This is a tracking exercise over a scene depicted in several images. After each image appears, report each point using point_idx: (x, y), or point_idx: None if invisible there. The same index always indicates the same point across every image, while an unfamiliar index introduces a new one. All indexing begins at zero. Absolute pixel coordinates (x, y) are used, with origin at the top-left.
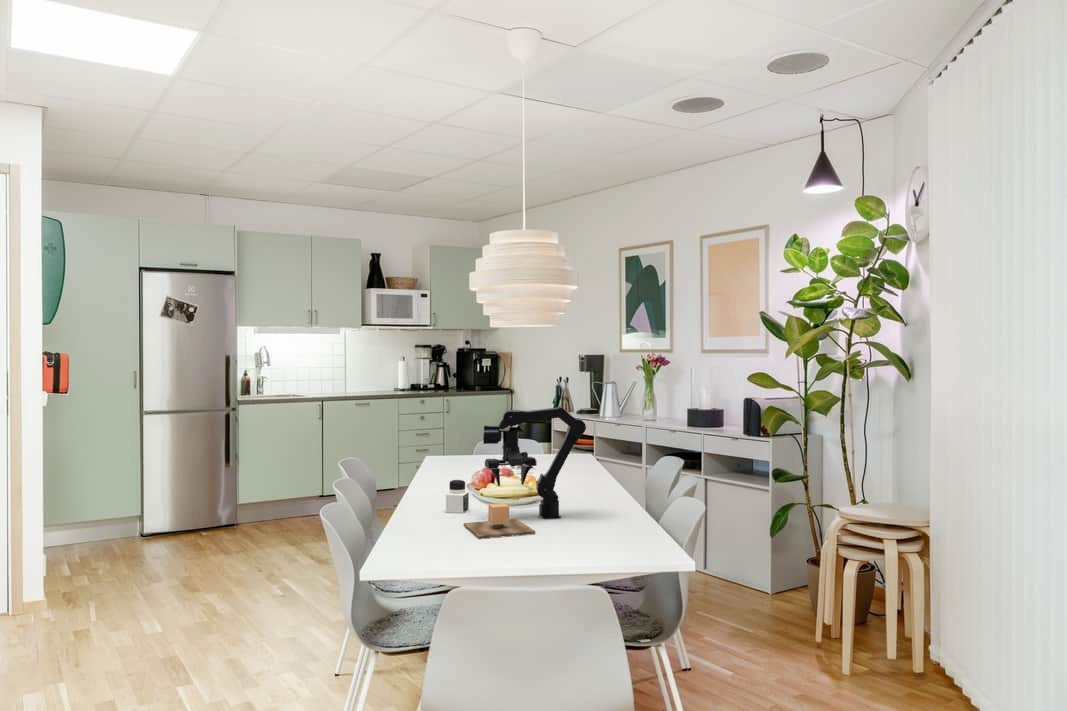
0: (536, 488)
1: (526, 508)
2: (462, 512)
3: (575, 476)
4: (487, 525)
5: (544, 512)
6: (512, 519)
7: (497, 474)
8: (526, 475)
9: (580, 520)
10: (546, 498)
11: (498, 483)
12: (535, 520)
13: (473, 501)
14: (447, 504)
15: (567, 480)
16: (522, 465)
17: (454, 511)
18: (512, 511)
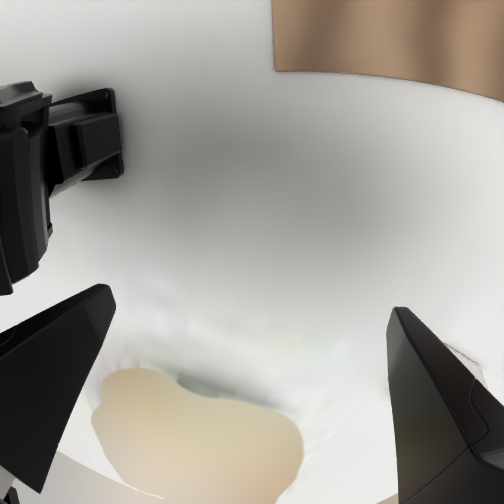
0: (32, 238)
1: (160, 327)
2: (447, 346)
3: (72, 454)
4: (485, 1)
5: (91, 112)
6: (308, 62)
7: (492, 425)
8: (8, 329)
9: (8, 56)
10: (24, 95)
11: (423, 326)
12: (162, 72)
13: (314, 447)
14: (485, 387)
15: (79, 450)
16: (16, 477)
17: (465, 358)
18: (229, 306)
